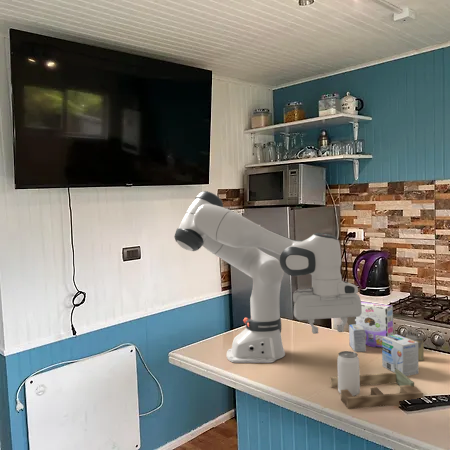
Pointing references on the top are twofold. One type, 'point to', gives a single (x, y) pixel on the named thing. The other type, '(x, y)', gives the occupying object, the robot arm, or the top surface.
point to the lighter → (420, 342)
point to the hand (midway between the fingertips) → (327, 332)
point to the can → (348, 372)
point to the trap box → (377, 396)
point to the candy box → (376, 322)
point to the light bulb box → (400, 354)
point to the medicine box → (357, 338)
